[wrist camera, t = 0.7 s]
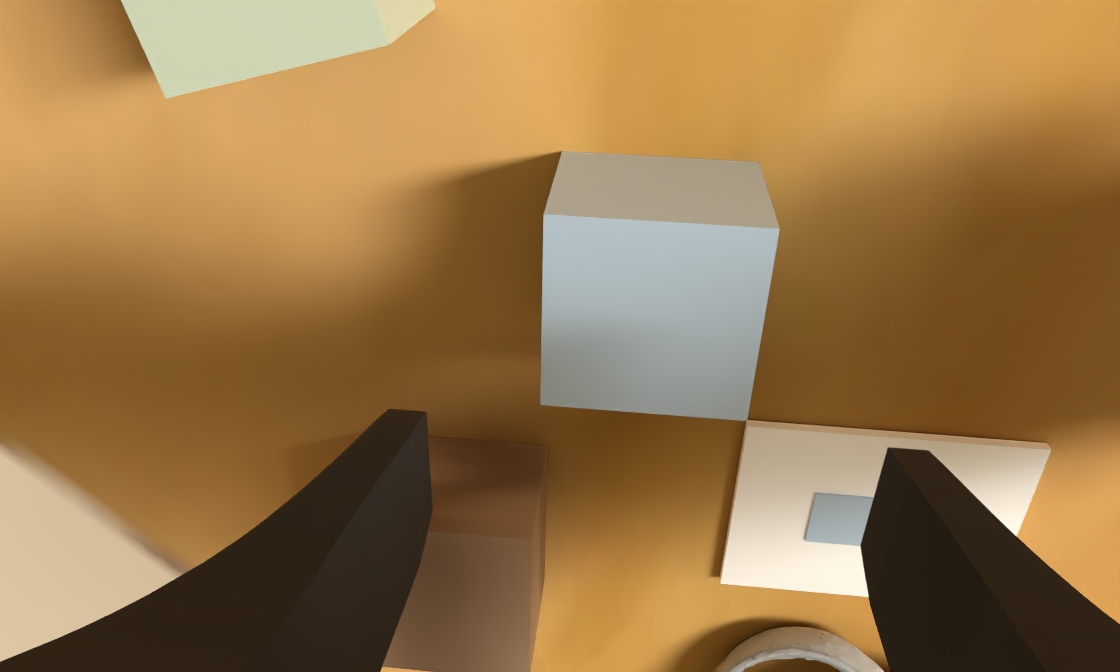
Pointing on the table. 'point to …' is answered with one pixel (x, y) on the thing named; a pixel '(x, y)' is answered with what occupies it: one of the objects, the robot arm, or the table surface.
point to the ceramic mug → (799, 650)
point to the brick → (259, 35)
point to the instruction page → (846, 498)
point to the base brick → (478, 561)
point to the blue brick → (655, 284)
